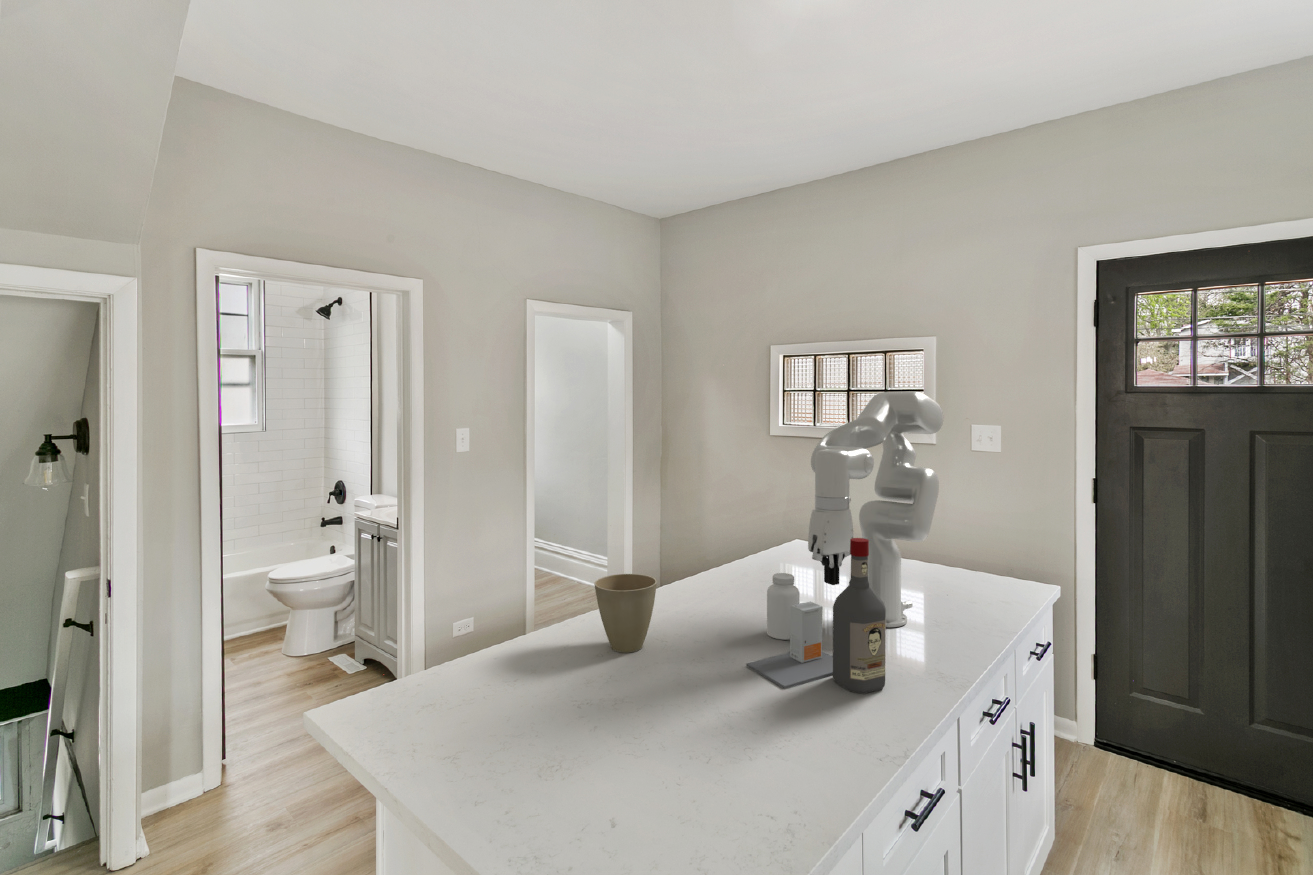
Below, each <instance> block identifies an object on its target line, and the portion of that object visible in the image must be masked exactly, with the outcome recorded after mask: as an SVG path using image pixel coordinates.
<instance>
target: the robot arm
mask: <svg viewBox="0 0 1313 875" xmlns="http://www.w3.org/2000/svg"><path fill="white" fill-rule="evenodd" d="M943 423H944V412H943V409H942V408H941V405H940V404H939V403H938V402H937V401H935V400H933V398H931V397H929V396H927V395H926V394H924V393H923V392H922V393H921V392H919V391H910V390H909V391H882V392H879V393H876V394H875V395H874V396H873V397H872V398H871V399H870V400H869V401H868V403H867V404H866V406H865V407H864V408H863V409H862V411H861V412H860V414H859V415H858V416H857V418H856V419H854V420H852V421H849V422H846V423H845V424H843V425H841V426H838V427H836V428H834V429H833V430H831V431H828V432H827V433H825V435H824V436H823V437H822V438H821V439H820V441H819V442H818V443H817V445H816V446H815V447H814V449H813V451H812V453H811V456H810V457H811V458H810V466H811V470H812V471H813V473H814V475H815V476H814V482H815V483H814V486H815V487H814V491H815V492H814V509H812V510H811V514H810V519H809V526H808V538H807V540H808V542H807V549H808V552H810V553H812V555H811V559H812V560H814V561H818V562H821V565H822V566H823V568H824V569H823V582H824V583H826V584H829V585H831V586H836V585H837V586H838V585H839V584H840V567H842V565H843V561H844V560H845V558H847V557H849V556H851V555H850V539H852V538H854V526H853V525H854V523H853V517H852V516H853V515H852V510H851V509H850V503H851V501H852V500H851V497H850V480H863V479H865V478H867V477H869V475H871V473H872V471H873V470H874V464H875V461H874V457H873V455H872V453H871V452H870V451H869V450H867V449H869V448H874V447H876V446H878V445H882V448H883V450H882V454H881V458H880V459H881V460H880V463H879V467H878V470H877V473H876V477H875V481H874V492H875V494H876V496H877V497H878V498H880V499H883V500H869V501H867V502H865V503H864V504H863V505H862V506H861V507H860V509H859V513H858V520H859V526H860V532H861V538H864V539H868V540H869V556H868V581H869V583H870V584H869V586H870V587H871V589H872V590H873V591H874V592H875V593H876V594H877V595H878V596H879V598H880V599H881V600H882V601H883V602H884V605H885V607H886V628H896V627H897V628H898V627H903V626H904V625H906V624H907V622H908V617H907V615H906V614H904V611H905V610H908V609H911V608H913V602H912V601H910V600H908V601H902V554H901V550H900V549H899V548H900V547H899V546H898V545H897V543H896V541H895V540H900V541H905V542H912V543H913V542H915V543H916V542H917V543H920V542H923V541H925V540H926V539H927V538H928V535H929V533H930V531H931V527H932V522H933V519H934V513H935V510H936V505H937V502H938V497H939V492H940V489H939V488H940V481H939V477H938V474H937V473H936V471H934V469H931V468H929V467H923V466H922V467H921V466H915V463H916V457H917V453H916V451H915V448H914V447H913V445H912V444H911V442H910V441H909V440H908V439H907V438H906V437H905V435H904V434H908V435H909V434H910V435H911V434H915V435H917V434H918V435H933V434H936V433H938V432H939V431H940V430H941V429H942V426H943V425H944V424H943Z"/></svg>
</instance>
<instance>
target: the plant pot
mask: <svg viewBox="0 0 1313 875" xmlns="http://www.w3.org/2000/svg"><path fill="white" fill-rule="evenodd" d="M657 580H658V579H656V578H655V577H653V576H650V575H647V574H642V573H641V574H639V573H619V574H611V575H606V576H602V577H600V578H598V579H596V580H595V581H594V592H595V597H596V602H597V606H598V611H599V614H600V618H601V622H602V625H603V626H602V627H603V629H604V630H605V635H606V637H607V640H608V643H609V645H610V648H611V649H612V650H613V651H615V652H617V653H635V652H638V651H640V650H641V649H642V648H643V646H644V643H645V640H646V637H647V634H648V630H649V627H650V624H651V620H652V615H653V611H654V606H655V601H656V600H655V598H656V591H657Z"/></svg>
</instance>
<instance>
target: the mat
mask: <svg viewBox="0 0 1313 875" xmlns="http://www.w3.org/2000/svg"><path fill="white" fill-rule="evenodd" d="M746 667H747V668H749V669H751V670H752V671H754V672H756V674H758V675H761V676H762V677H763V678H765V679H767V680H769V681H770V682H772V683H774V684H776V685H777V686H779V687H780V688H782V689H784V690H786V689H789V688H793V687H797V686H799V685H804V684H806V683H811V682H813V681H817V680H820V679H823V678H827V677H830V676H833V655H831V654H829V653H827V652H825V651H823V650H822V658H820V659H815V660H811V661H807V662H804V663H801V662H799V661H797V660H795V659H793V658H791V657H790V651H789V652H788V651H787V652H786V653H785V652H784V653H782V654H778V655H777V654H776V655H774V656H773V655H772V656H770V657H766V658H762V659H757V660H754V661H750V662H747V663H746Z"/></svg>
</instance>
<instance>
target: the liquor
mask: <svg viewBox="0 0 1313 875" xmlns="http://www.w3.org/2000/svg"><path fill="white" fill-rule="evenodd" d="M849 556H850V580H849V582H848V584H849V585H848V586H846V587H845V589H844V590H842V592H840V593H839V594H838V596H836V598H835V600H834V604H833V605H832V656H833V675H832V679H833V681H834V683H836V684H837V685H839V686H840V687H842V688H844V689H846V690H847V691H849V692H850V693H856V694H867V693H871V692H876V691H880V690H883V689H884V687H885V685H886V644H887V642H886V641H887V640H886V638H887V637H886V634H887V632H886V628H887V627H886V607H885V605H884V602H883V601H882V600H881V599H880V598H879V596H878V595H877V594H876V593H875V592H874V591H873V590H872V589H871V587H870V586H869V584H870V583H869V581H868V556H869V540H868V539H864V538H862V537H853V538H852V539H850V555H849Z"/></svg>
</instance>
